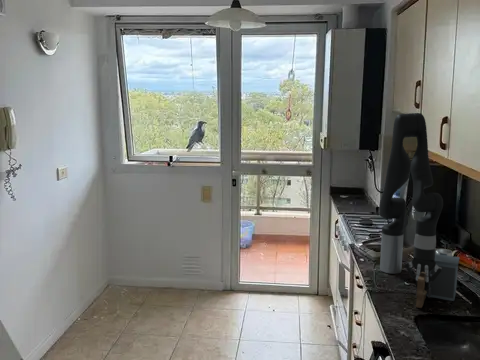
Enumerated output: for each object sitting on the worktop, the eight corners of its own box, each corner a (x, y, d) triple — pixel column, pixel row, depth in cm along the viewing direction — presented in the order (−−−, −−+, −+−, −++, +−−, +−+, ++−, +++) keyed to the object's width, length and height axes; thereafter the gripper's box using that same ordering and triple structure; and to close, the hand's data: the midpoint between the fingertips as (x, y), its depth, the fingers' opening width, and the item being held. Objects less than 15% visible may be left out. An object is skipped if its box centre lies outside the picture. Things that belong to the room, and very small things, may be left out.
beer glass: (451, 285, 202) (454, 250, 199) (448, 290, 196) (450, 254, 194) (434, 281, 206) (436, 247, 203) (430, 286, 200) (432, 251, 197)
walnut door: (420, 295, 190) (422, 268, 188) (429, 297, 188) (431, 270, 187) (415, 307, 180) (417, 278, 178) (425, 309, 178) (427, 280, 176)
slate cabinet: (419, 287, 199) (421, 252, 197) (456, 293, 193) (459, 257, 190) (415, 297, 189) (417, 260, 186) (454, 304, 183) (457, 266, 180)
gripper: (445, 245, 181) (442, 289, 184) (407, 240, 187) (404, 283, 190) (443, 251, 174) (440, 296, 177) (403, 245, 181) (401, 290, 184)
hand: (421, 289), depth 184 cm, fingers closed on walnut door, 2 cm apart
